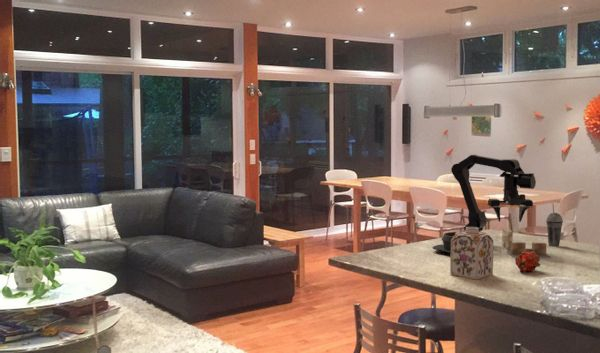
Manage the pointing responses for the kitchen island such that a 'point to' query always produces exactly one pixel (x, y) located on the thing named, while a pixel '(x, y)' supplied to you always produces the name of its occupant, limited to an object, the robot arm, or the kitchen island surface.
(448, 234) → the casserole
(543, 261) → the kitchen island surface
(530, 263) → the dragon fruit
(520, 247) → the walnut board
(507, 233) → the upright wooden plank
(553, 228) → the beverage cup
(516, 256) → the rubber mat
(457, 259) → the decorative jar
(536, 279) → the kitchen island surface
